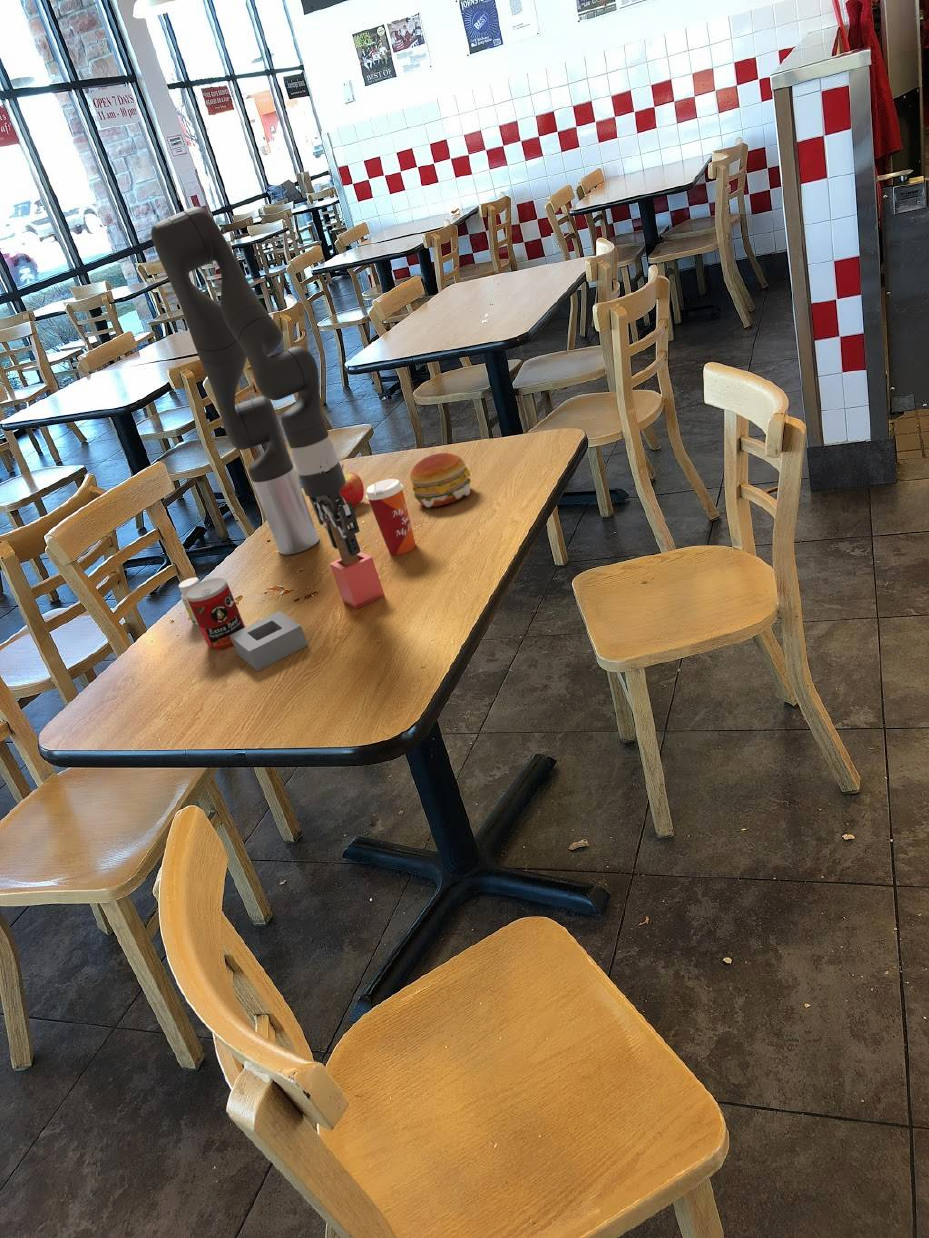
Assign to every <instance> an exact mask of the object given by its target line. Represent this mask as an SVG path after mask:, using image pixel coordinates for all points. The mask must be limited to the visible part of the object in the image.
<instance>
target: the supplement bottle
mask: <svg viewBox="0 0 929 1238" xmlns="http://www.w3.org/2000/svg"><path fill="white" fill-rule="evenodd" d="M199 583H201V581H200V580H199V578H198V577H190V578H186V579H185V580H183V581H181V582H180V583H179V584H178V589H179V591H180V593H181V595H180V597H181V600H182V602H183V605H184V608H185V609H186V611H187V613H188V616H189V618H190V620H191V623H192V624H193V625H195V626H199V625H198V623H197V621H196V618H195V616H194V614H193V612H192V609H191V607H190V605H189V602H188V600H187V597H186V594H187V592H188V591H189V590H190V589H191V588H192V587H193V586H195V585H197V584H199Z"/></svg>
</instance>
